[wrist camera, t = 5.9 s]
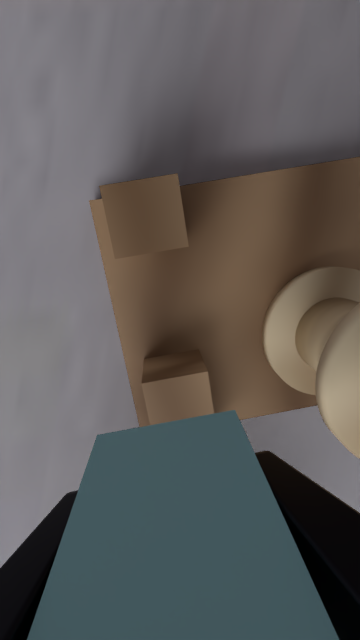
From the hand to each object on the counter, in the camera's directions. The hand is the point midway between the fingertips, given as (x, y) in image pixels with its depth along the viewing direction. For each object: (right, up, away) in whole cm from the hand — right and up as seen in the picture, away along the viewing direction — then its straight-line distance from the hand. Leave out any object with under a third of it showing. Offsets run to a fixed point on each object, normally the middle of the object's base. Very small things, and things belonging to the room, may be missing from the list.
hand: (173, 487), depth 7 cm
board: (+7, +5, +11) cm, 14 cm away
